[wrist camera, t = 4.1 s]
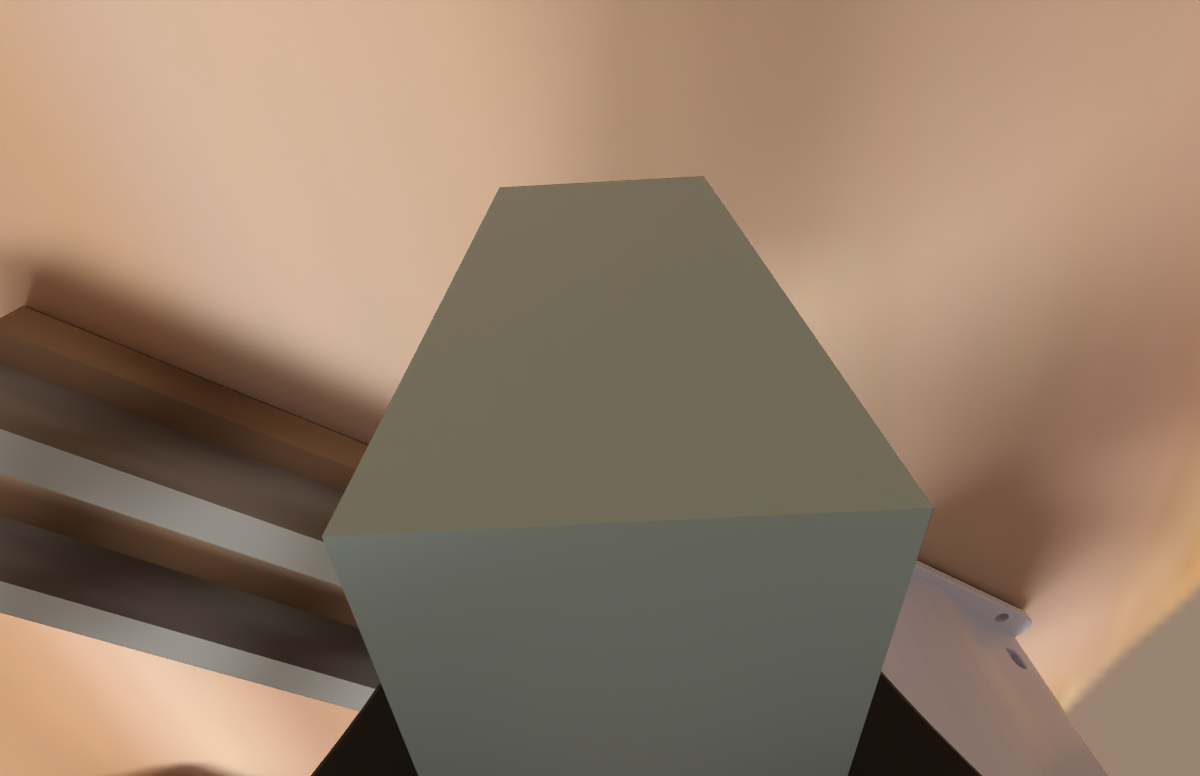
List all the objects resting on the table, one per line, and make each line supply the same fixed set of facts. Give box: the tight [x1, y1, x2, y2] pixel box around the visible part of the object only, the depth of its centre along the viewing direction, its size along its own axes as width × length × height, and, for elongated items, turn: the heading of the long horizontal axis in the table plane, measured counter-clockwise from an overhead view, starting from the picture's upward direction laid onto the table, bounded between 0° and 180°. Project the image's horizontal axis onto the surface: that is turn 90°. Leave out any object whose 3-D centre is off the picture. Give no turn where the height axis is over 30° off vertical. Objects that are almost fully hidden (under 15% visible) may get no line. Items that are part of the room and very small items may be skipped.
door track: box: [0, 306, 380, 711], centre depth 21 cm, size 22×10×3 cm, turn 60°
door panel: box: [322, 176, 933, 776], centre depth 9 cm, size 10×3×7 cm, turn 3°
